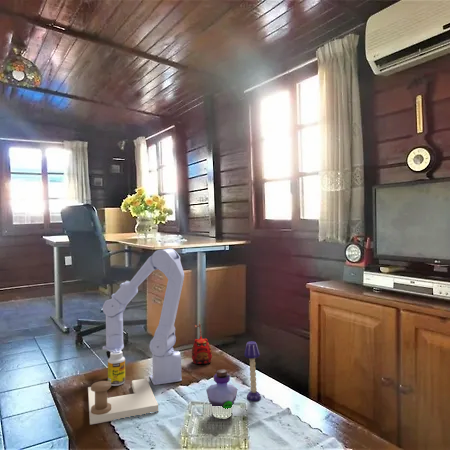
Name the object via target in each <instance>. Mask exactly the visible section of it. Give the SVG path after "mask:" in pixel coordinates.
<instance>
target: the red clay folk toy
mask: <svg viewBox="0 0 450 450" xmlns="http://www.w3.org/2000/svg"><path fill="white" fill-rule="evenodd" d="M202 325H203V323H201V321H200V320H199V321H198V325H196V324H194V329H196V328H198V327H199V338H195V339H194V342H193V344H192V347H191V348H192V349H191V360H192V362H193V364H195V365H201V364H204V365H206V364H207V365H208V364H211V363H212V362H211V361H212V357H213V355H212V353H213V352H212V347H211V345H210V343H209V341H208V339H207V338H203V335H202V327H201V326H202Z"/></svg>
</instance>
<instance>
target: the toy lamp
mask: <svg viewBox="0 0 450 450" xmlns="http://www.w3.org/2000/svg"><path fill="white" fill-rule="evenodd" d="M245 344H246V345H245V350H244V354H243V356H244V357H245V358H246V359H248V360H249V376H250V380H249V381H250V391H249V392H247V395H246V399H247V400H248V401H251V402H258V401H260V400H261V399H262V397H261V394H260V392H259V391H258V390H257V382H256V381H257V373H256V359H257V358H259V357H260V355H261V353H260V350H259V348H258V344H257V342H256V341H253V340H252V341H247V342H246V343H245Z"/></svg>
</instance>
